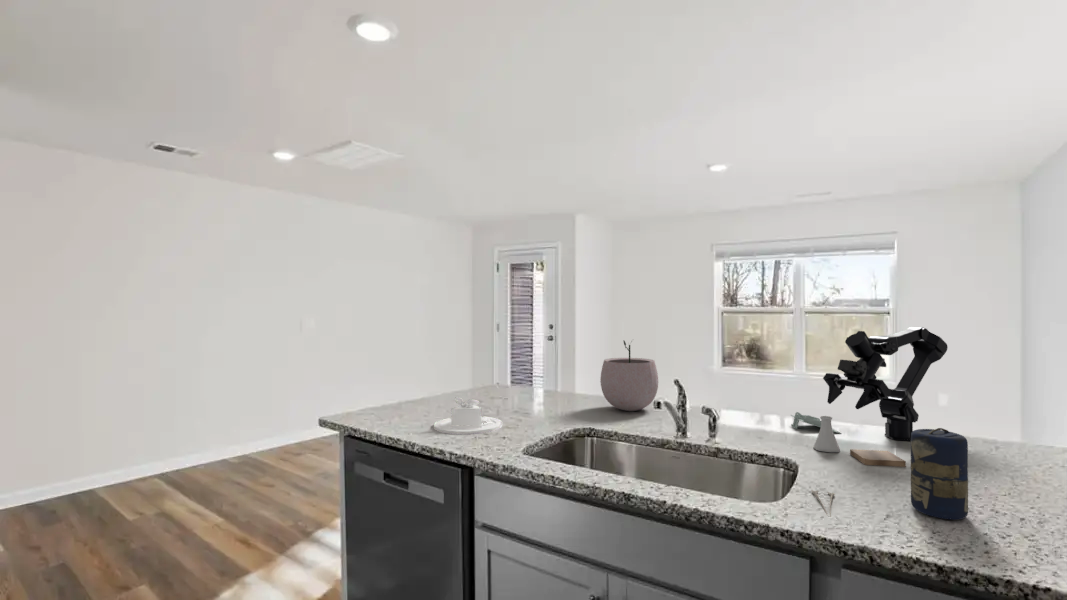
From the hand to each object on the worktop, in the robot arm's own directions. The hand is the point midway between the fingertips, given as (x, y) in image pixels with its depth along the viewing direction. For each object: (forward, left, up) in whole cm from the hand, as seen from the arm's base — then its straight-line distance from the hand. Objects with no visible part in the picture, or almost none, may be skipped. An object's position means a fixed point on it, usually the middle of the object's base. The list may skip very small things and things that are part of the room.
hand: (842, 405), depth 159 cm
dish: (+123, -7, -13) cm, 124 cm away
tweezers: (+21, +52, -14) cm, 57 cm away
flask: (+6, +4, -13) cm, 15 cm away
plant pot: (+65, -46, -13) cm, 81 cm away
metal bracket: (+1, -25, -13) cm, 28 cm away
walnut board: (-4, +13, -13) cm, 19 cm away
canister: (0, +51, -13) cm, 53 cm away
